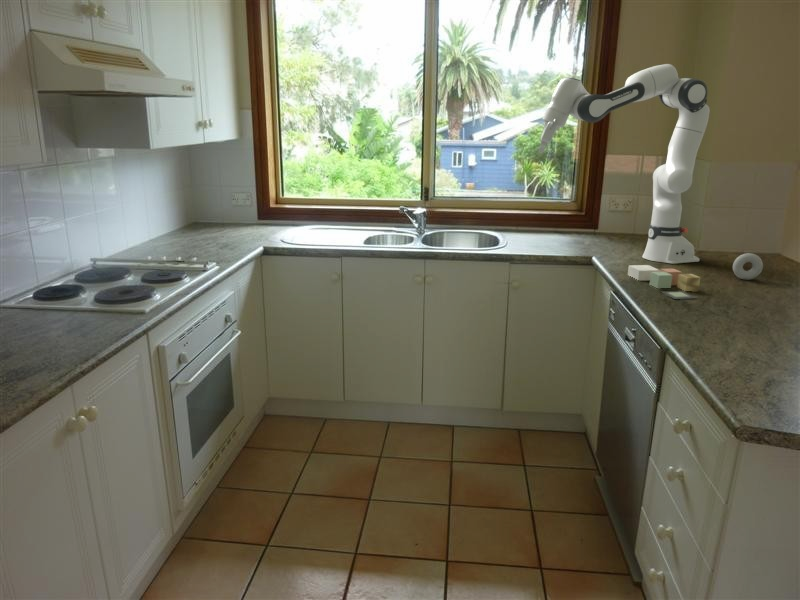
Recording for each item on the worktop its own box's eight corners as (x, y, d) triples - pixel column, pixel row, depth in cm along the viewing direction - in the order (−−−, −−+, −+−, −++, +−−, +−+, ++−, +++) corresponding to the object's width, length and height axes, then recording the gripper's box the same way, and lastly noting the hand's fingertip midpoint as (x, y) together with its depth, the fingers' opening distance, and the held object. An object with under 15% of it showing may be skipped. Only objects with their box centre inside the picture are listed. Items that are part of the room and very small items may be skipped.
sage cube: (662, 285, 215) (664, 271, 213) (670, 289, 210) (672, 275, 209) (649, 285, 214) (651, 271, 213) (657, 289, 210) (659, 275, 208)
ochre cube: (689, 287, 212) (691, 273, 211) (698, 291, 208) (700, 277, 206) (676, 287, 212) (678, 274, 210) (685, 291, 207) (687, 277, 205)
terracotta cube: (671, 281, 220) (673, 268, 218) (679, 285, 215) (681, 271, 213) (658, 282, 219) (660, 268, 217) (666, 285, 214) (668, 272, 213)
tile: (682, 292, 206) (682, 290, 206) (696, 298, 199) (696, 297, 198) (660, 292, 205) (660, 291, 205) (674, 299, 197) (674, 298, 197)
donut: (758, 279, 224) (763, 253, 221) (761, 281, 221) (766, 255, 218) (729, 277, 226) (733, 251, 223) (731, 279, 223) (736, 253, 220)
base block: (647, 275, 229) (648, 265, 228) (658, 280, 221) (659, 270, 220) (627, 275, 228) (628, 265, 227) (637, 281, 220) (639, 270, 219)
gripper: (563, 120, 222) (547, 156, 226) (560, 123, 242) (546, 156, 246) (547, 114, 223) (532, 150, 227) (546, 117, 242) (531, 150, 246)
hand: (539, 153), depth 236 cm, fingers open, 8 cm apart
